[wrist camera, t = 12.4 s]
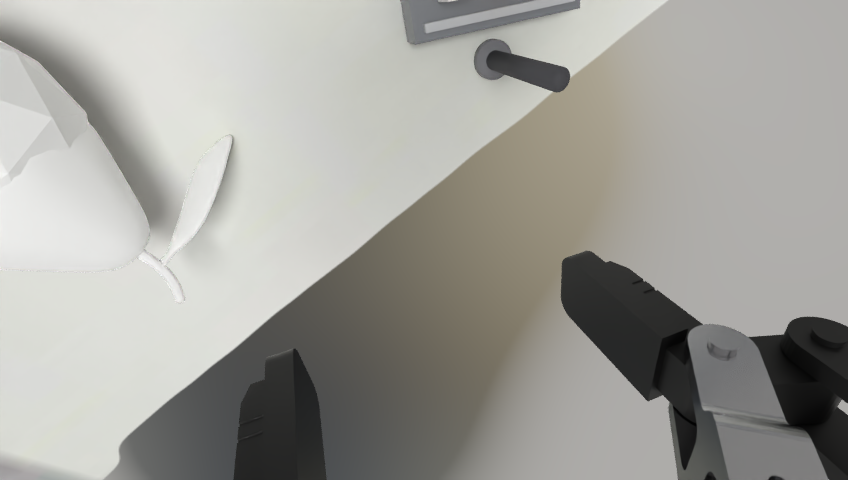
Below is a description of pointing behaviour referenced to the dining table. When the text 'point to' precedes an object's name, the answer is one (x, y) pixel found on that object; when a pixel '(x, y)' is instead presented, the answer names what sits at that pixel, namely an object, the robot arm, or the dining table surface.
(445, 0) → the white and orange bar
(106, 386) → the dining table surface
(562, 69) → the dark grey lever handle
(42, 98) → the pear ornament
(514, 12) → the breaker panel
